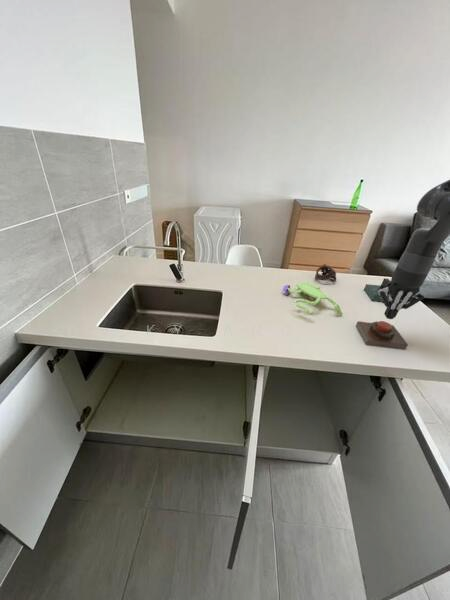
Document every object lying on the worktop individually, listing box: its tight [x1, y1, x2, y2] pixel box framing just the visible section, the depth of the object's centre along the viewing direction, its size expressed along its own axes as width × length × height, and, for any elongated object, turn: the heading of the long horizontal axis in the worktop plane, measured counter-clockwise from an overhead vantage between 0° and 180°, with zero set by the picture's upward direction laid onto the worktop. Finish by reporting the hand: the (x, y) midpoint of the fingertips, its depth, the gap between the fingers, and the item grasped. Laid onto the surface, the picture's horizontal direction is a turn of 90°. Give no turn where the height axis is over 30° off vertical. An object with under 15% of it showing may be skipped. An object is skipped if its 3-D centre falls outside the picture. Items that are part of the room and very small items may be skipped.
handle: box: [380, 277, 391, 294], centre depth 103 cm, size 6×2×5 cm, turn 172°
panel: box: [363, 283, 390, 303], centre depth 105 cm, size 12×10×3 cm
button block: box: [355, 320, 408, 351], centre depth 80 cm, size 12×10×4 cm
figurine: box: [282, 281, 343, 316], centre depth 97 cm, size 18×27×6 cm
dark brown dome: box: [314, 264, 337, 283], centre depth 117 cm, size 12×10×8 cm
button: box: [376, 320, 392, 332], centre depth 79 cm, size 4×4×2 cm
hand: (388, 317), depth 77 cm, fingers closed
